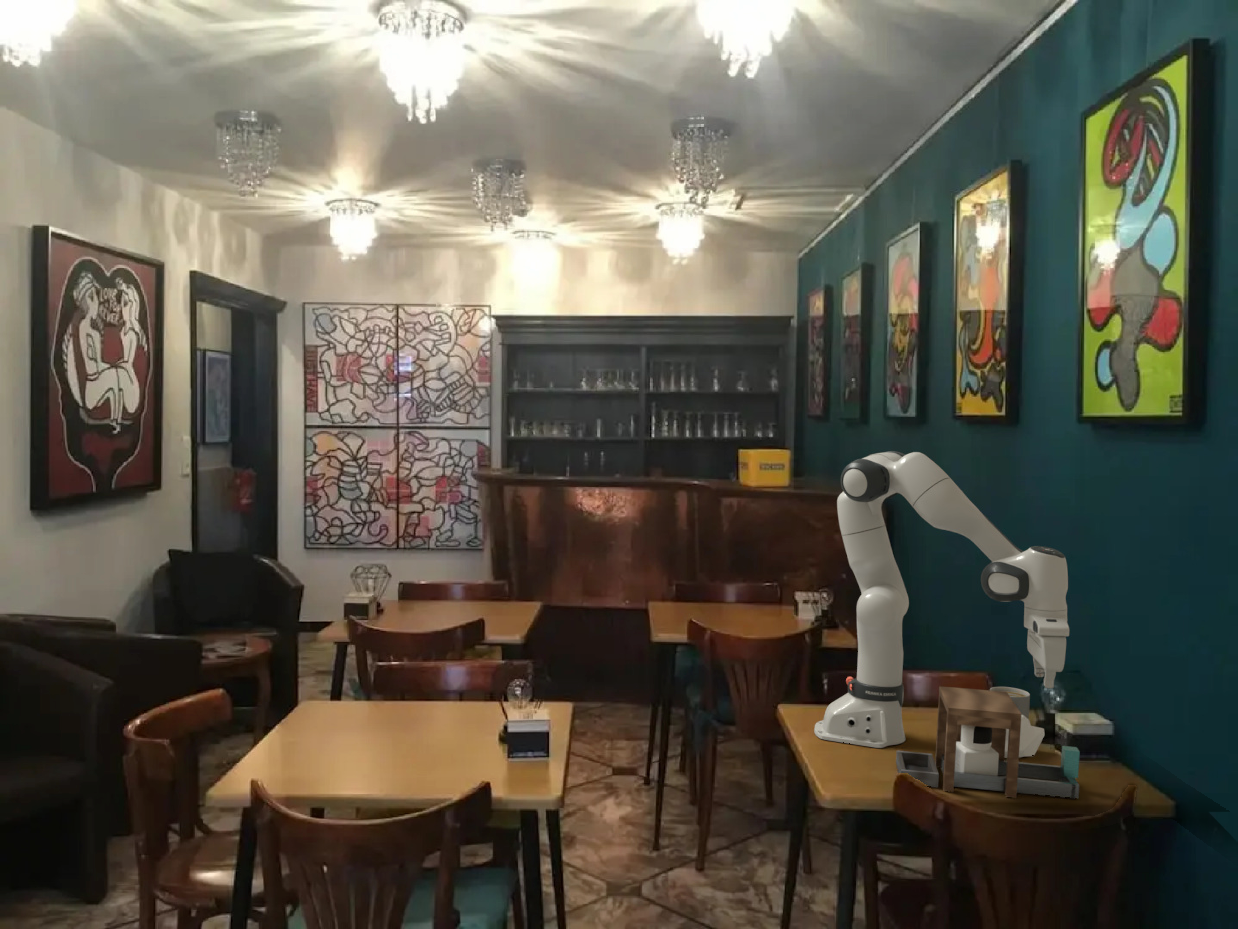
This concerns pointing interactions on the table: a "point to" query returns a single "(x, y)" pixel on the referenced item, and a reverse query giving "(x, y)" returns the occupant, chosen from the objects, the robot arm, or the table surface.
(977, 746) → the container
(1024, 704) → the coffee mug
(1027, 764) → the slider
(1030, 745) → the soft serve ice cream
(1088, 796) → the table surface
